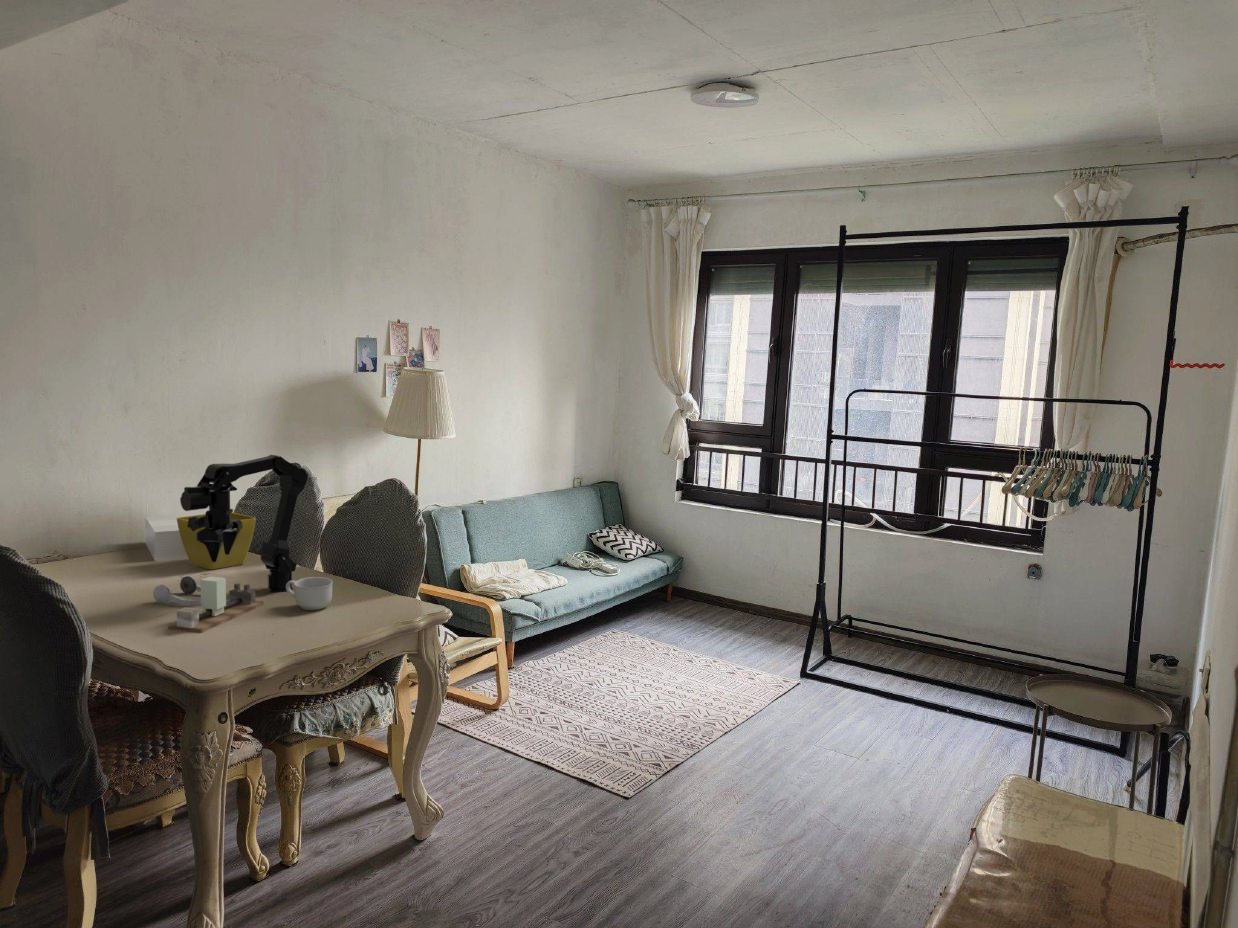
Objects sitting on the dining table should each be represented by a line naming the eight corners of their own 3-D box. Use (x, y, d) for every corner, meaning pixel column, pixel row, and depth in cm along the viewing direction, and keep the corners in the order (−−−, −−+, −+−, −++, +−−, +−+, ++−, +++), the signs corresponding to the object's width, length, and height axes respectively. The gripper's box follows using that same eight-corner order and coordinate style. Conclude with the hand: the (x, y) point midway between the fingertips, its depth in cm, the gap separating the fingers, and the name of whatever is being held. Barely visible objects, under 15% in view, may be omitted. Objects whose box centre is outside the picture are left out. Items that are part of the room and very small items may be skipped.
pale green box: (210, 610, 241) (209, 576, 240) (226, 612, 241) (225, 578, 239) (201, 614, 238) (200, 579, 236) (217, 616, 237) (216, 581, 235)
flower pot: (175, 564, 296) (175, 517, 294) (227, 555, 312) (227, 510, 310) (205, 573, 286) (205, 524, 284) (257, 564, 301) (257, 518, 299)
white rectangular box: (145, 543, 325) (144, 516, 324) (176, 541, 332) (176, 514, 330) (155, 561, 299) (154, 531, 298) (188, 559, 305) (188, 529, 304)
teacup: (340, 605, 257) (340, 579, 256) (316, 614, 247) (316, 587, 246) (302, 599, 261) (302, 573, 260) (277, 608, 251) (277, 581, 250)
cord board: (233, 601, 256) (233, 580, 255) (263, 604, 254) (263, 583, 253) (167, 629, 228) (167, 605, 227) (201, 632, 226) (200, 609, 226)
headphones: (135, 598, 251) (194, 616, 247) (138, 580, 250) (196, 598, 246) (178, 584, 268) (233, 601, 264) (180, 567, 267) (235, 583, 263)
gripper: (205, 500, 260) (206, 550, 262) (176, 511, 242) (178, 565, 244) (242, 501, 261) (243, 551, 263) (216, 512, 242) (218, 566, 244)
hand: (220, 558), depth 253 cm, fingers open, 9 cm apart
